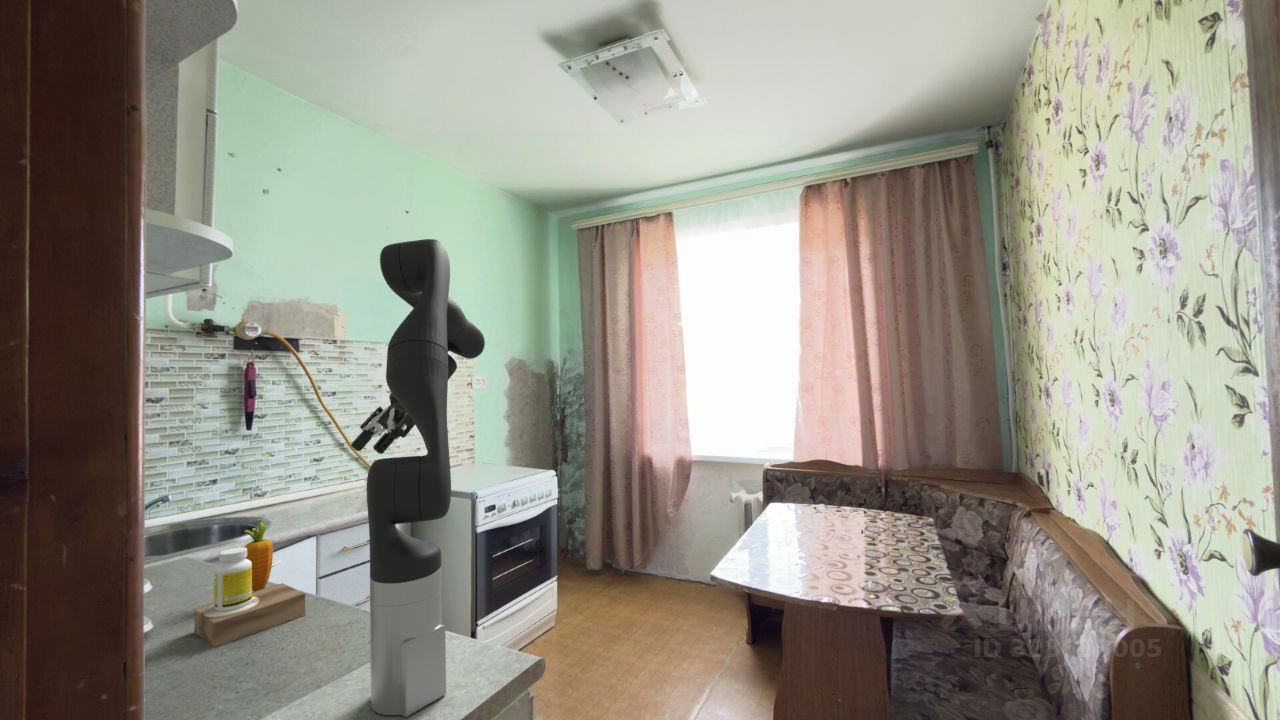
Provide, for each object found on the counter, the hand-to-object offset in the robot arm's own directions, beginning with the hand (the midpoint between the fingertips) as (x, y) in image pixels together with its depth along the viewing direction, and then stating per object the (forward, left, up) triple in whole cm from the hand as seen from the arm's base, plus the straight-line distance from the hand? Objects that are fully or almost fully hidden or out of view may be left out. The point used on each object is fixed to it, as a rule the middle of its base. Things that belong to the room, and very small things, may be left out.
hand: (365, 450), depth 104 cm
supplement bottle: (+11, +18, -27) cm, 34 cm away
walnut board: (+11, +16, -31) cm, 36 cm away
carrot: (+25, +10, -31) cm, 41 cm away
